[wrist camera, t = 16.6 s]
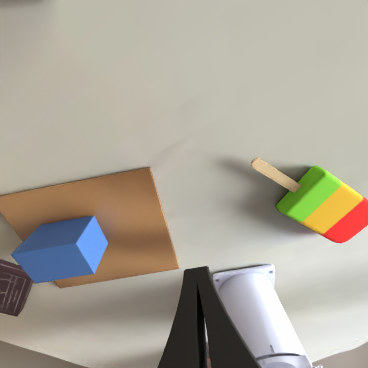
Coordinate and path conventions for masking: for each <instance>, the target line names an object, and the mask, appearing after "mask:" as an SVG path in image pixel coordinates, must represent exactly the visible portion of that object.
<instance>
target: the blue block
mask: <svg viewBox="0 0 368 368" xmlns="http://www.w3.org/2000/svg"><path fill="white" fill-rule="evenodd" d="M107 244H108V242H107V240H106V238H105V236H104V234H103V232H102V230H101V228H100V226H99V224H98V222H97V220H96V218H95V216H88V217H83V218H77V219H72V220H66V221H61V222H55V223H50V224H44V225H40V226H39V227H38V228H37V229H36V230H35V231H34V232H33V233H32V234H31V235H30V236H29V237H28V238H27V239H26V240H25V241H24V242H23V243H22V244H21V245H20V246H19V247H18V248H17V249H16V250H15V251H14V252H13V253H12V254H11V256H12V257H13V258H14V259H15V260H16V262H17V263H18V264H19V265H20V266H21V267H22V269H23V270H24V271H25V272H26V273H27V274H28V276H29V277H30V278H31V279H32V280H33V282H34V283H42V282H48V281H54V280H60V279H66V278H72V277H78V276H84V275H90V274H95V272H96V269H97V267H98V265H99V263H100V260H101V258H102V256H103V254H104V251H105V249H106V247H107Z"/></svg>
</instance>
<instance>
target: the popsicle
mask: <svg viewBox="0 0 368 368" xmlns="http://www.w3.org/2000/svg"><path fill="white" fill-rule="evenodd" d="M251 166H252V167H253V168H254V169H256V170H258V171H259V172H261V173H263V174H264V175H266V176H267V177H269V178H271V179H272V180H274V181H275V182H277V183H279V184H280V185H282V186H284V187H285V188H287V189H288V190H290V191H289V192H288V193H287V194H286V195H285V196H284V197H283V198H282V199H281V200H280V201H279V202H278V204H277V205H276V208H277V209H278V210H279V211H280V212H281V213H283V214H285V215H286V216H288V217H290V218H292V219H294V220H295V221H297V222H299V223H301V224H302V225H304V226H306V227H308V228H309V229H311V230H313V231H315V232H317V233H318V234H320V235H322V236H324V237H325V238H327V239H329V240H331V241H333V242H336V243H343V242H346V241H348V240H349V239H351V238H352V237H353V236H355V235H356V234H357V233H358V232H360V231H361V230H362V229H363V228H365V227H366V226H367V225H368V200H367V199H365V198H364V197H363V196H361V195H360V194H358V193H357V192H355V191H354V190H353V189H351V188H350V187H348V186H347V185H346V184H344V183H343V182H341V181H340V180H339V179H337V178H336V177H334V176H333V175H332V174H330V173H329V172H327V171H326V170H324V169H322V168H321V167H318V166H313V167H312V168H311V169H310V170H309V171H308V172H307V173H306V174H305V175H304V176H303V177H302V178H301V179H300V180H299V181H298V182H296V181H294V180H292V179H291V178H289V177H288V176H286V175H285V174H283V173H282V172H280V171H278V170H277V169H275V168H274V167H272V166H271V165H269V164H268V163H266V162H265V161H263V160H261V159H260V158H255V159H254V160H253V161H252V162H251Z"/></svg>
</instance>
